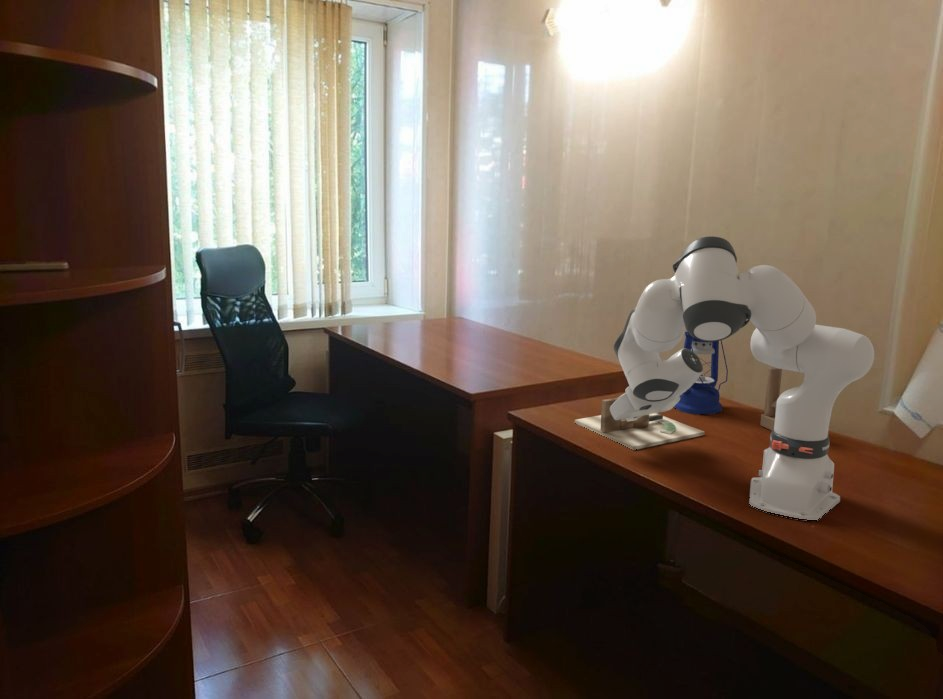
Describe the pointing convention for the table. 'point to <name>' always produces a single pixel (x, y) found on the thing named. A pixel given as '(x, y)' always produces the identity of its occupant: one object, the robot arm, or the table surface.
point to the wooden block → (771, 397)
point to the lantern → (702, 381)
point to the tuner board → (644, 432)
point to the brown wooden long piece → (611, 424)
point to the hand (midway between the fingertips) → (630, 418)
